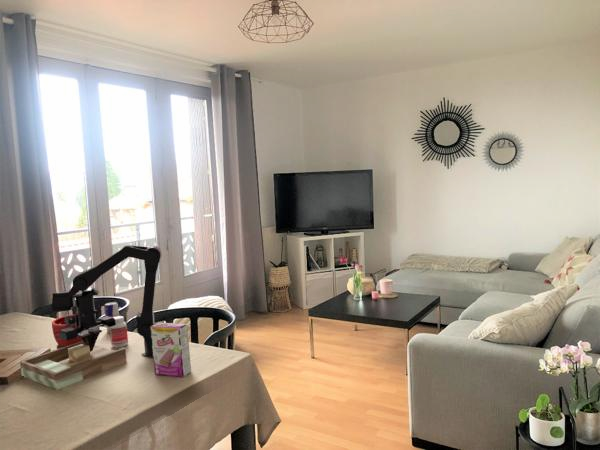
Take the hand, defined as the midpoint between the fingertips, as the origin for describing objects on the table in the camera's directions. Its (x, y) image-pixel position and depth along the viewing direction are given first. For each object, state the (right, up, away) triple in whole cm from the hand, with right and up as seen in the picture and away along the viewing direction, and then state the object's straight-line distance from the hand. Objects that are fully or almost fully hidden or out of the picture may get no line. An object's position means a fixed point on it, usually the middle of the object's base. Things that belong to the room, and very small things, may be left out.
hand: (90, 351), depth 176 cm
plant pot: (-14, -4, +17) cm, 22 cm away
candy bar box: (+33, -4, -14) cm, 36 cm away
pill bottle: (+4, -2, +17) cm, 18 cm away
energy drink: (-6, -1, +37) cm, 37 cm away
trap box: (-3, -5, -5) cm, 8 cm away
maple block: (-2, -2, -3) cm, 4 cm away
